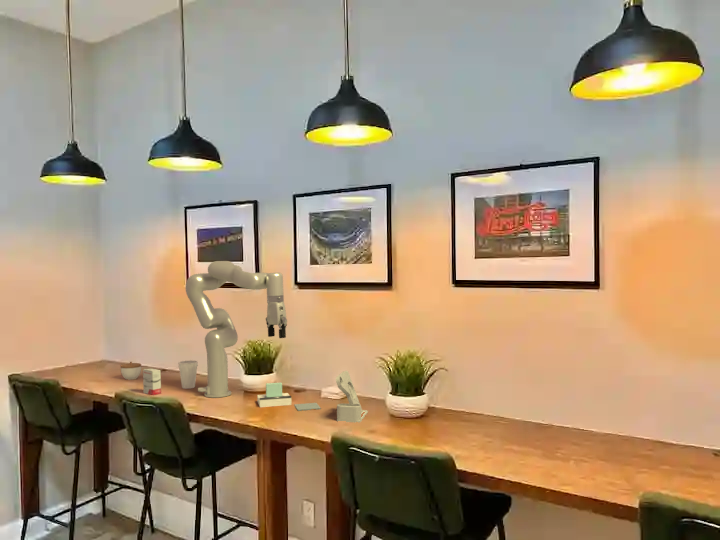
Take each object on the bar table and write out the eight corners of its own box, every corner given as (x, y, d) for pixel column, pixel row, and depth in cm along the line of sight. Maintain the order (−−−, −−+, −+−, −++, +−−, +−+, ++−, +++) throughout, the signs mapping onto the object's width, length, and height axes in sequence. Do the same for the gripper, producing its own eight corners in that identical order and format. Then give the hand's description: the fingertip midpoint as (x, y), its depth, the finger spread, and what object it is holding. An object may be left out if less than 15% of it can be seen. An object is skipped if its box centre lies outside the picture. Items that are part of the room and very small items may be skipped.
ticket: (266, 404, 270) (266, 384, 270) (266, 403, 272) (265, 383, 272) (282, 403, 272) (282, 383, 271) (281, 402, 274) (281, 382, 274)
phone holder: (360, 423, 238) (359, 377, 237) (335, 421, 240) (334, 377, 240) (368, 411, 255) (367, 369, 254) (345, 410, 257) (344, 369, 257)
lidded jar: (121, 377, 336) (121, 360, 336) (141, 376, 340) (141, 359, 339) (120, 381, 326) (119, 363, 326) (141, 379, 329) (140, 362, 329)
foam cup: (175, 388, 305) (174, 363, 305) (185, 384, 314) (185, 360, 314) (191, 389, 302) (191, 363, 302) (201, 385, 311) (201, 360, 311)
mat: (297, 410, 258) (297, 409, 257) (294, 405, 267) (294, 404, 267) (320, 409, 260) (320, 407, 260) (316, 403, 270) (316, 402, 270)
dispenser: (259, 407, 265) (259, 398, 265) (257, 401, 275) (257, 392, 275) (291, 404, 268) (291, 395, 268) (287, 399, 279) (287, 390, 279)
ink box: (161, 393, 294) (161, 369, 294) (152, 395, 290) (152, 371, 290) (151, 391, 300) (151, 367, 299) (142, 393, 296) (142, 369, 296)
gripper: (292, 299, 269) (294, 337, 269) (272, 298, 283) (274, 335, 283) (278, 300, 265) (279, 339, 265) (258, 299, 278) (260, 336, 278)
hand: (276, 337), depth 274 cm, fingers open, 9 cm apart
